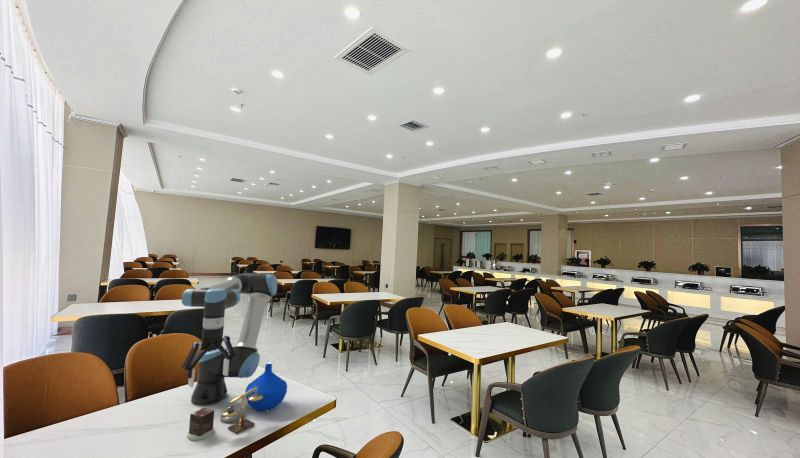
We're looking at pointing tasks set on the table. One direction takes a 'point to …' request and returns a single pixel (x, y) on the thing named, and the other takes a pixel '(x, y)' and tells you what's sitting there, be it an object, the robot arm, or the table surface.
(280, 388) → the vase
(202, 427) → the box
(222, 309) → the robot arm
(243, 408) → the balance
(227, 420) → the grey plastic dome
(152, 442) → the table surface
